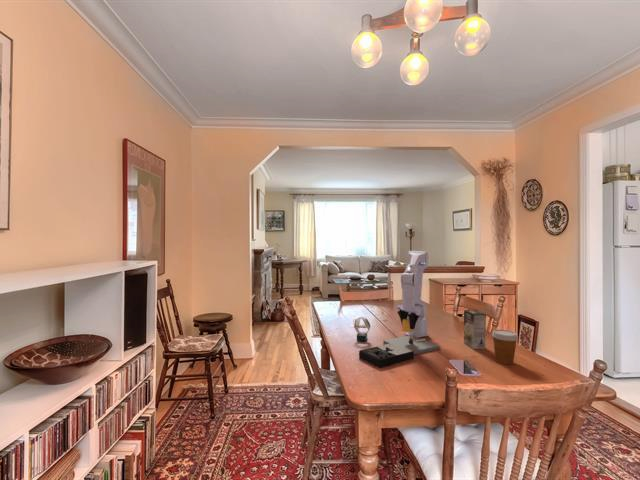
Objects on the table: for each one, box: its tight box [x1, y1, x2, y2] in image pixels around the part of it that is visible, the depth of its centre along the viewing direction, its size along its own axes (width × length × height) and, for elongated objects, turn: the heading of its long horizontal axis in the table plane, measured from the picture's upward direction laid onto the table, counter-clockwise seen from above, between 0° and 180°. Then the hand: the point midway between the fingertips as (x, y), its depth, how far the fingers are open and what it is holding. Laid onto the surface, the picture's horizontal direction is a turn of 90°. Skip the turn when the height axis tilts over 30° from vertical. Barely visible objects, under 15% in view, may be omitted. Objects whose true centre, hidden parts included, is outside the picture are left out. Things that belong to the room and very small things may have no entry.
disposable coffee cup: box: [491, 329, 519, 365], centre depth 138 cm, size 10×10×12 cm
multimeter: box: [358, 343, 415, 369], centre depth 141 cm, size 13×19×5 cm
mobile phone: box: [448, 359, 482, 377], centre depth 132 cm, size 8×1×15 cm
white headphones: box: [350, 318, 366, 329], centre depth 191 cm, size 9×8×4 cm
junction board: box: [383, 335, 441, 355], centre depth 157 cm, size 18×18×2 cm
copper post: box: [409, 335, 413, 344], centre depth 157 cm, size 2×2×4 cm
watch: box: [353, 316, 371, 343], centre depth 166 cm, size 6×8×11 cm
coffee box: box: [463, 309, 487, 350], centre depth 157 cm, size 9×6×16 cm
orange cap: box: [401, 318, 414, 333], centre depth 158 cm, size 5×5×5 cm
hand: (408, 327), depth 158 cm, fingers closed on orange cap, 5 cm apart
